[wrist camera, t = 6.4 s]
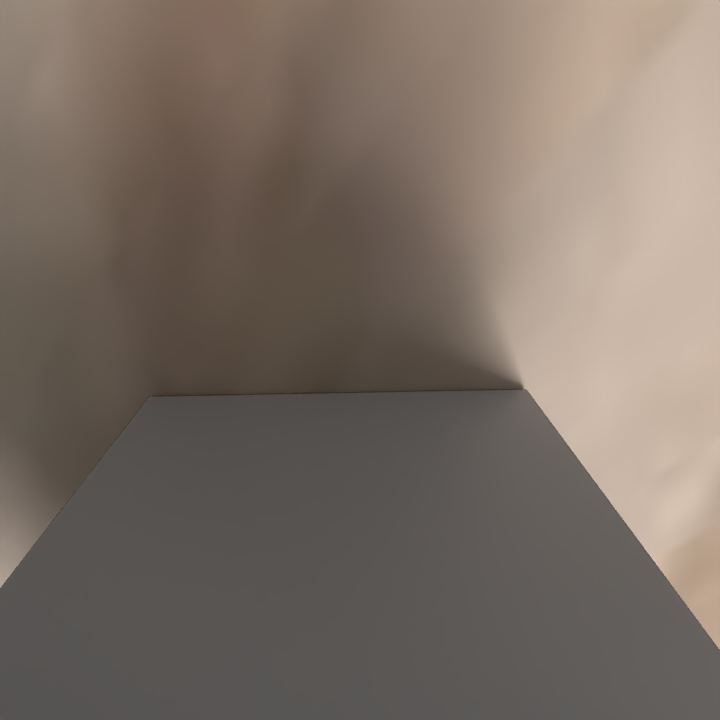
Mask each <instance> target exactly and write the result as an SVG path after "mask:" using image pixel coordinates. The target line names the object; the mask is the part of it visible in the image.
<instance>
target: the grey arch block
mask: <svg viewBox="0 0 720 720" xmlns="http://www.w3.org/2000/svg"><path fill="white" fill-rule="evenodd" d="M0 720H720V650H719V649H718V647H717V646H716V644H715V643H714V642H713V640H712V639H711V638H710V636H709V635H708V634H707V632H706V631H705V630H704V628H703V627H702V626H701V624H700V623H699V622H698V620H697V619H696V617H695V616H694V615H693V613H692V612H691V611H690V609H689V608H688V607H687V605H686V604H685V603H684V601H683V600H682V599H681V597H680V596H679V595H678V593H677V592H676V591H675V589H674V588H673V586H672V585H671V584H670V582H669V581H668V580H667V578H666V577H665V576H664V574H663V573H662V572H661V570H660V569H659V568H658V566H657V565H656V564H655V562H654V561H653V559H652V558H651V557H650V555H649V554H648V553H647V551H646V550H645V549H644V547H643V546H642V545H641V543H640V542H639V541H638V539H637V538H636V537H635V535H634V534H633V532H632V531H631V530H630V528H629V527H628V526H627V524H626V523H625V522H624V520H623V519H622V518H621V516H620V515H619V514H618V512H617V511H616V510H615V508H614V507H613V505H612V504H611V503H610V501H609V500H608V499H607V497H606V496H605V495H604V493H603V492H602V491H601V489H600V488H599V487H598V485H597V484H596V483H595V481H594V480H593V479H592V477H591V476H590V474H589V473H588V472H587V470H586V469H585V468H584V466H583V465H582V464H581V462H580V461H579V460H578V458H577V457H576V456H575V454H574V453H573V452H572V450H571V449H570V447H569V446H568V445H567V443H566V442H565V441H564V439H563V438H562V437H561V435H560V434H559V433H558V431H557V430H556V429H555V427H554V426H553V425H552V423H551V422H550V420H549V419H548V418H547V416H546V415H545V414H544V412H543V411H542V410H541V408H540V407H539V406H538V404H537V403H536V402H535V400H534V399H533V398H532V396H531V395H530V393H529V392H528V391H527V389H525V390H473V391H421V392H369V393H317V394H265V395H213V396H161V397H148V399H147V400H146V401H145V403H144V404H143V405H142V406H141V408H140V409H139V410H138V412H137V413H136V414H135V416H134V417H133V418H132V419H131V421H130V422H129V423H128V425H127V426H126V427H125V428H124V430H123V431H122V432H121V434H120V435H119V436H118V437H117V439H116V440H115V441H114V443H113V444H112V445H111V446H110V448H109V449H108V450H107V452H106V453H105V454H104V455H103V457H102V458H101V459H100V461H99V462H98V463H97V464H96V466H95V467H94V468H93V470H92V471H91V472H90V473H89V475H88V476H87V477H86V479H85V480H84V481H83V483H82V484H81V485H80V486H79V488H78V489H77V490H76V492H75V493H74V494H73V495H72V497H71V498H70V499H69V501H68V502H67V503H66V504H65V506H64V507H63V508H62V510H61V511H60V512H59V513H58V515H57V516H56V517H55V519H54V520H53V521H52V522H51V524H50V525H49V526H48V528H47V529H46V530H45V531H44V533H43V534H42V535H41V537H40V538H39V539H38V540H37V542H36V543H35V544H34V546H33V547H32V548H31V550H30V551H29V552H28V553H27V555H26V556H25V557H24V559H23V560H22V561H21V562H20V564H19V565H18V566H17V568H16V569H15V570H14V571H13V573H12V574H11V575H10V577H9V578H8V579H7V580H6V582H5V583H4V584H3V586H2V587H1V588H0Z"/></svg>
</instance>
